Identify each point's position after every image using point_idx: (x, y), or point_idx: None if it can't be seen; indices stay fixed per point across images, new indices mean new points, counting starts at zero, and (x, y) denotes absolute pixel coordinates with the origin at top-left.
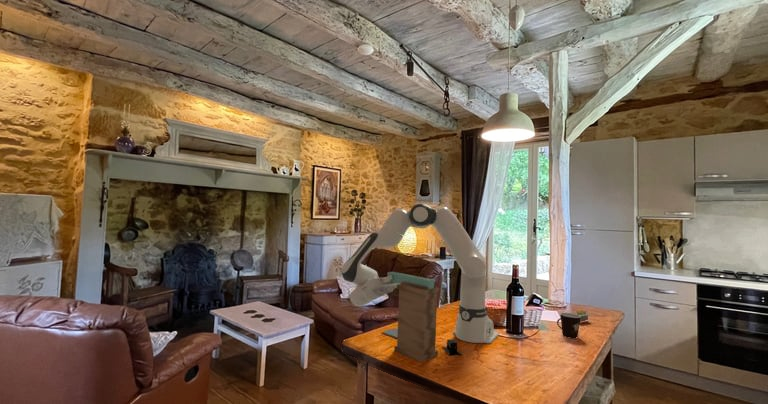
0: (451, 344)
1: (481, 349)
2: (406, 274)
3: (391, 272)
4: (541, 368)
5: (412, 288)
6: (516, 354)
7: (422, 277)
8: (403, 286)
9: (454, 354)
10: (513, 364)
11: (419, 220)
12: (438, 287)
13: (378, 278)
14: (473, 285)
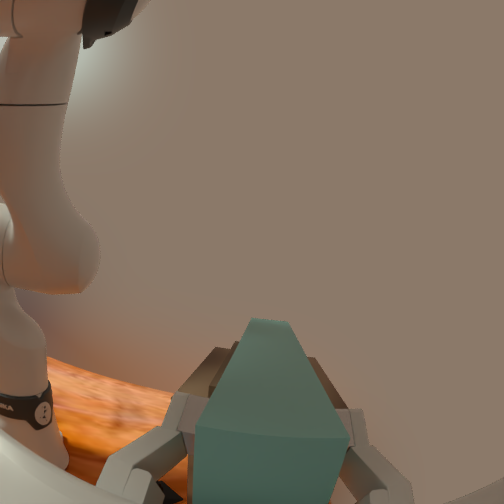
0: (159, 485)
1: (103, 453)
2: (244, 350)
3: (289, 416)
4: (150, 407)
5: (325, 375)
6: (105, 418)
7: (251, 326)
8: (338, 395)
9: (169, 492)
10: (155, 426)
11: (140, 3)
12: (215, 348)
13: (470, 494)
14: (26, 317)
